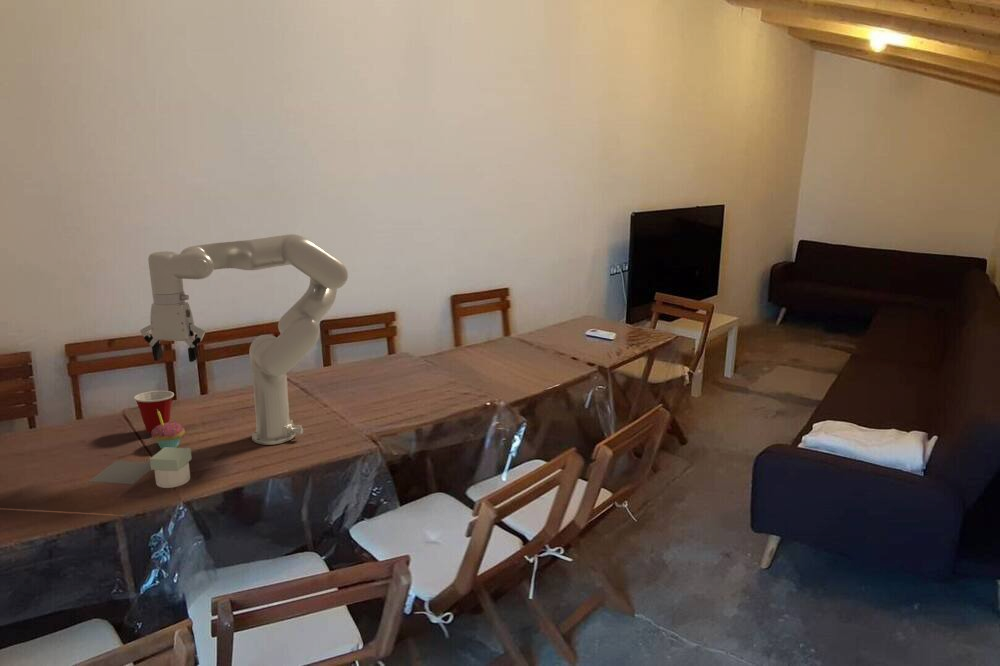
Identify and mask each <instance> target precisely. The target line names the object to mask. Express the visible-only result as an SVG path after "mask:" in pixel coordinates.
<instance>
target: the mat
mask: <svg viewBox="0 0 1000 666" xmlns="http://www.w3.org/2000/svg"><path fill="white" fill-rule="evenodd" d="M150 471H152V470H151V465H150V461H149V462H148V461H133V460H132V461H130V460H129V461H128V460H115V461H114V462H113V463H111V464H110V465H108V466H107V467H105V469H103V470H102V471H101V472H99V473H98V474H96V475H95V476H94V477H92V478H91V479H90V480H88V483H100V484H101V483H102V484H103V483H104V484H105V483H106V484H121V485H122V484H124V485H134V484H135V483H137V482H138V481H139V480H140V479H142V478H143V477H144V476H145V475H147V474H148V473H149V472H150Z"/></svg>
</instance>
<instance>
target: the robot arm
mask: <svg viewBox="0 0 1000 666" xmlns="http://www.w3.org/2000/svg"><path fill="white" fill-rule="evenodd" d="M147 259H148V260H147V261H148V268H149V269H148V270H149V277H150V278H149V279H150V286H151V293H152V302H153V303H152V304H151V306H150V320H149V322H150V324H149V325H147V326H145V327H143V328H141V329H140V330H139V331H140V334H141V335H142V336H143V340H144V341H146V342H147V343H148V344H149V346H150V347H151V349H152V357H153V360H154V361H155V362H156V361H157V362H158V361H159V360H161V359H162V358H163V357H164V356H163V355H164V354H163V349H162V348H163V347H162V344H161V343H160V342H161V341H170V342H173V341H174V342H185V343H186V345H187V346H189V347H188V348H187V353H188V360H189V361H188V362H191V363H193V362H196V360H197V359H198V357H199V353H198V352H199V351H198V345H199V344H200V343H201V342H202V341H203V339H204V336H205V334H206V330H204V329H203V328H200V327H198V326H196V325H195V322H194V318H193V313H192V310H191V306H190V304H189V302H188V300H189V299H190V297H189V294H185V290H184V289H185V288H184V281H183V280H184V279H185V280H203V279H206V278H208V277H209V276H211V275H212V274H213V272H214V271H215V270H223V269H237V270H243V271H259V270H265V269H270V268H276V267H277V268H278V267H283V266H290V265H291V266H293V267H294V268H296V269H297V270H299V272H301V273H303V274H304V275H306V276H307V277H309V280H310V281H309V286H308V287H307V290H306V291H305V293H304V294H303V295H302V296H301V297H300V298H299V299H298V300H297V302H295V303H294V304H293V305H292V306H291V307H290V308H289V309H288V310H287V311H286V312H285V313H284V314H283V315H282V316H281V318H280V319H279V320H278V323H277V328H278V329H277V330H278V331H279V333H280V334H279V335H278V336H277V337H276V336H275V335H271V334H261V335H258V336H257V337H256V338H254V339H253V340H252V342H251V344H250V346H249V350H248V351H249V352H248V353H249V354H248V355H249V363H250V367H251V376H252V385H253V397H254V398H253V399H254V409H255V410H254V412H255V423H256V426H255V427H256V429H255V430H254V431H253V432H252V433H251V440H252V441H253V442H254V443H256V444H259V445H263V446H264V445H265V446H266V445H267V446H269V445H270V446H272V445H273V446H274V445H278V444H283V443H287V442H289V441H290V440H292V439H294V438H295V437H296V435H302V434H303V433H304V428H303V425H302V424H295V423H294V422H293V421H294V420H293V419H290V409H289V408H290V407H289V393H288V378H287V377H288V376H287V373H288V372H290V371H291V370H292V369H293V368H294V367H295V366H296V365H297V364H298V363H299V362H300V361H301V360H302V359H303V358H305V356H306V355H307V354H308V353H309V352H310V350H312V349H313V347H315V345H316V343H318V340H319V338H320V333H321V328H320V325H319V322H320V321H321V320H322V319H323V318H324V316H325V315H326V314H327V313H328V312H329V311H330V309H331V308H332V307H333V305H334V303H335V300H336V297H337V291H338V289H340V288H342V287H343V286H344V285H345V284H346V282H347V281H348V278H349V274H348V273H349V272H348V270H347V267H346V266H345V265H344V263H343V262H341V261H340V260H339V259H337V258H335V257H334V256H332V255H331V254H329V253H327V252H326V251H325V250H323V249H322V248H321V247H320V246H318V245H316V244H315V243H313V242H312V241H311V240H309V239H307V238H306V237H303V236H300V235H298V234H295V233H294V234H293V233H291V234H283V235H276V236H269V237H268V236H267V237H261V238H255V239H247V240H237V241H226V242H224V241H223V242H214V243H205V244H198V245H192V246H188V247H186V248H184V249H183V250H181V251H180V253H177V252H175V251H169V250H167V251H165V250H163V251H157V252H156V251H155V252H152V253H150V254H149V255H148V258H147ZM149 331H150V332H151V334H150V333H149ZM196 335H197V336H196ZM195 336H196V338H195Z"/></svg>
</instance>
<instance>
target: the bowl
mask: <svg viewBox="0 0 1000 666" xmlns="http://www.w3.org/2000/svg"><path fill="white" fill-rule="evenodd" d="M189 462H190V461H189ZM189 462H188V463H186V464H185V465H184V466H183V467H182V468H181V469H180V470H179V471H166V470H153V471H154V477H155V484H156V486H157V487H159V488H162V489H163V488H165V489H170V488H171V489H172V488H177V487H180V486H183V485H185V484H187V483H188V482H189V481H190V480H191V471H190V463H189Z"/></svg>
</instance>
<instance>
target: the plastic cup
mask: <svg viewBox="0 0 1000 666" xmlns="http://www.w3.org/2000/svg"><path fill="white" fill-rule="evenodd" d="M174 396H175V394H174V392H172V391H169V390H152V391H145V392H141V393H138V394H136V395H134V397H133V399H134V400H135V401H136V404H137V407H138V409H139V413H140V416H141V419H142V422H143V424H144V427H145V429H146V432H147V434H148V433H149V434H148V435H150V434H152V433H151V432H152V431H153V430H154V428H156V427H157V426H158V425H161V422H160V419H159V416H158V413H157V412H158V411H160V414H161V417H162V420H163V423H168V422H170V420H171V411H172V409H171V408H172V402H173V398H174ZM157 409H158V411H157Z"/></svg>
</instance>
